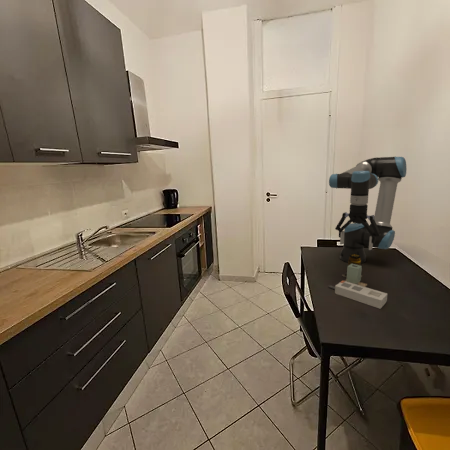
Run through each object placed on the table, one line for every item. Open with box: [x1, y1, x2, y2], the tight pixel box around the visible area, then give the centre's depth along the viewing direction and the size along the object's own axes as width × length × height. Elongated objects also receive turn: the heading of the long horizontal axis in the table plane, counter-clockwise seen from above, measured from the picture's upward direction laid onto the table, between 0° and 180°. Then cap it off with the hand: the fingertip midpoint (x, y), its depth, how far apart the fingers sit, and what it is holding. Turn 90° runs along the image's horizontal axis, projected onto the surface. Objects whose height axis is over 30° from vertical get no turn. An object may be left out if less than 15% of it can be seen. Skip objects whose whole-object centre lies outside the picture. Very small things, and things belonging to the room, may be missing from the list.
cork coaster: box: [344, 278, 368, 287], centre depth 133 cm, size 10×10×1 cm
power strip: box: [328, 280, 388, 310], centre depth 123 cm, size 25×8×4 cm, turn 43°
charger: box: [346, 264, 363, 285], centre depth 132 cm, size 5×5×10 cm
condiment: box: [341, 254, 363, 278], centre depth 143 cm, size 7×8×12 cm
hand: (355, 246), depth 129 cm, fingers open, 13 cm apart
